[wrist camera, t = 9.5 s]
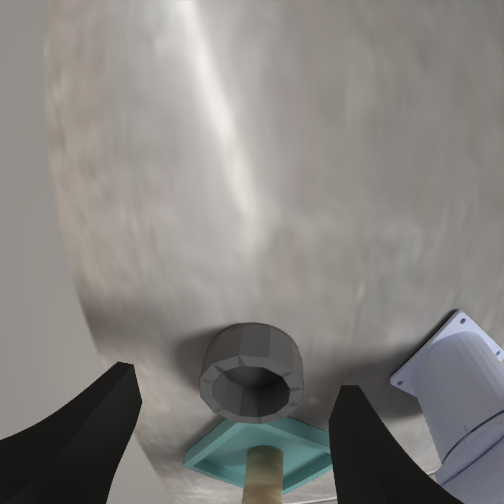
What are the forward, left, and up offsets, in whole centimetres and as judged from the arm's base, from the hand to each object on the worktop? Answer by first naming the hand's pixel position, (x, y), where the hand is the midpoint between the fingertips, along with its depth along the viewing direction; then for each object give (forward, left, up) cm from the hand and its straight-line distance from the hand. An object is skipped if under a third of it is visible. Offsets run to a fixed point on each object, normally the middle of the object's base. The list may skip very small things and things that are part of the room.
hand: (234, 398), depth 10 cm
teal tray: (-12, +16, -10) cm, 22 cm away
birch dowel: (-12, +16, -10) cm, 22 cm away
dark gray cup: (-4, +6, -10) cm, 13 cm away
